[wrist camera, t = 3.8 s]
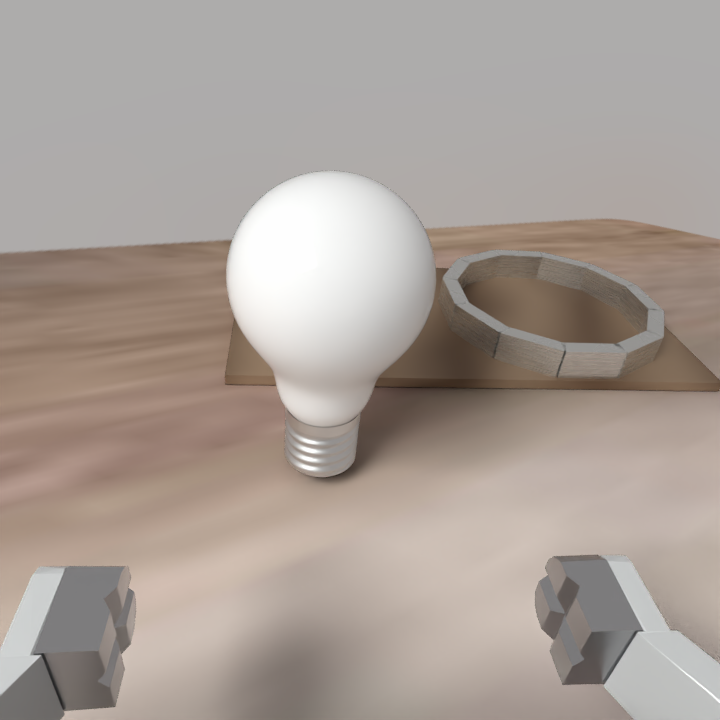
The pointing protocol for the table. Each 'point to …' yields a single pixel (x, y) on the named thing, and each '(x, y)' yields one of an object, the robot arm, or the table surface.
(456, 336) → the socket board
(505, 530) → the table surface
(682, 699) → the robot arm
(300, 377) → the lightbulb
